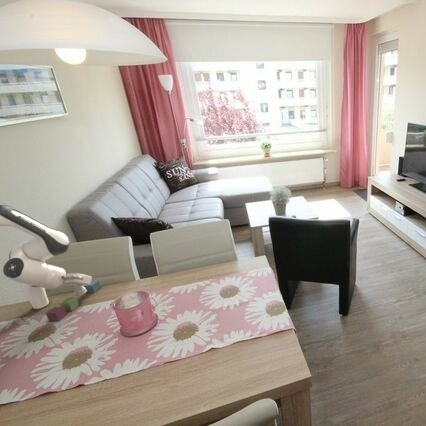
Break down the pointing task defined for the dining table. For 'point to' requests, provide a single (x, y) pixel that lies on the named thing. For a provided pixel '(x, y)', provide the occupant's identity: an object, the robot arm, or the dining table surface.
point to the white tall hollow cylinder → (35, 295)
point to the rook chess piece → (79, 290)
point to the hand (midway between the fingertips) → (78, 284)
